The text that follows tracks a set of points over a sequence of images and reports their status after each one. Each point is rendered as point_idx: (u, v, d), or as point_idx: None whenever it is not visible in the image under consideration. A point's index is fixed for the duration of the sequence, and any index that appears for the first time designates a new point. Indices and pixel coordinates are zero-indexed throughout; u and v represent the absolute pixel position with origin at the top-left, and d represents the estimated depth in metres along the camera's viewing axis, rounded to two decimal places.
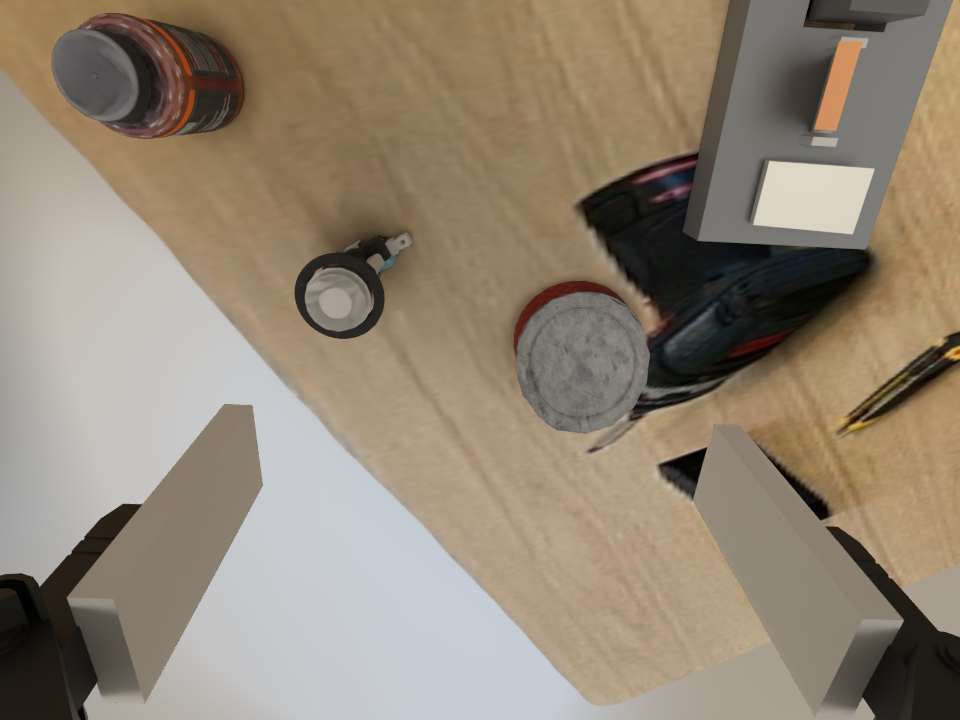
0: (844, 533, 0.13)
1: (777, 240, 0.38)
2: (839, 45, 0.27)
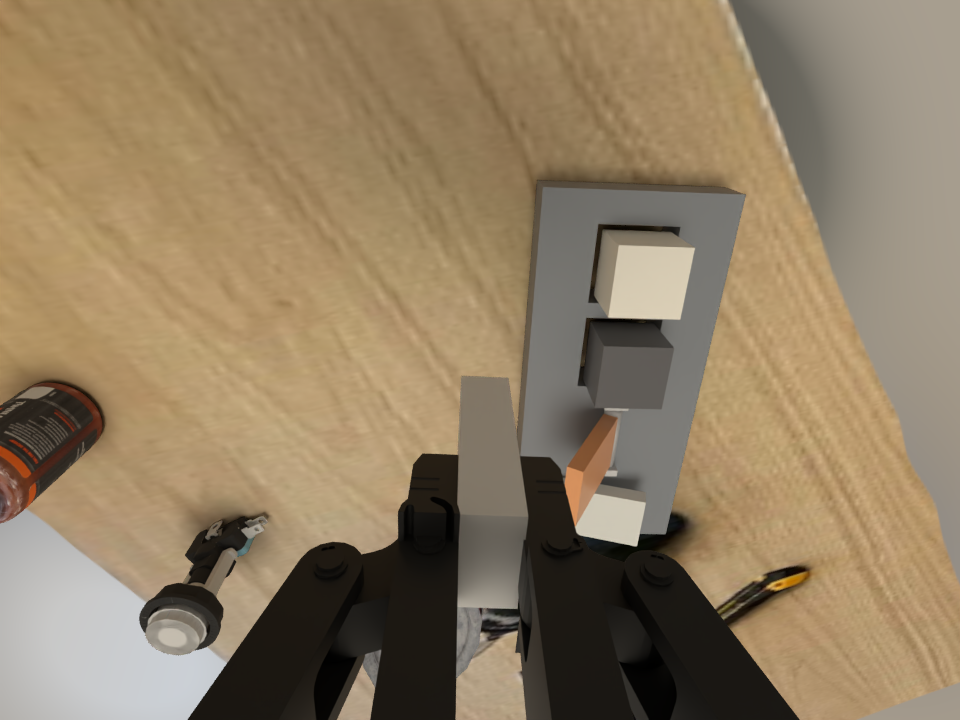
0: (552, 462, 0.15)
1: None
2: (567, 469, 0.32)
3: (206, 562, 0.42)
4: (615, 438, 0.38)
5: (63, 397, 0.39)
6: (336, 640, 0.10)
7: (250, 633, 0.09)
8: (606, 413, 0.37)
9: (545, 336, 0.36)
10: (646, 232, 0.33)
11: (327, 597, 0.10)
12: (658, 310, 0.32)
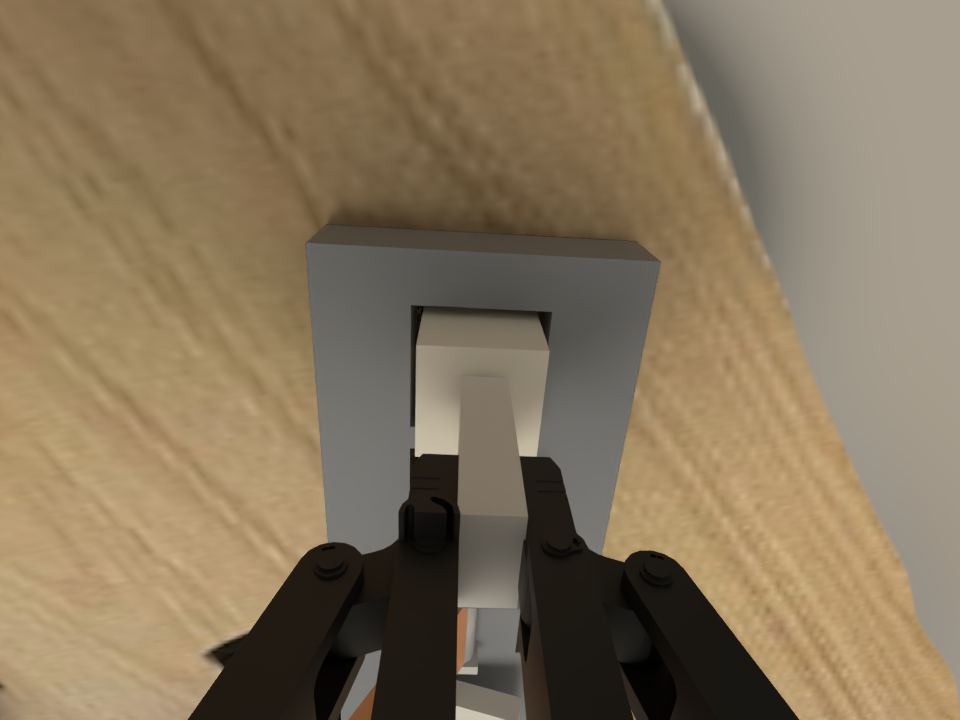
0: (552, 462, 0.15)
1: None
2: None
3: None
4: (469, 625, 0.24)
5: None
6: (336, 640, 0.10)
7: (250, 633, 0.09)
8: None
9: (346, 475, 0.22)
10: (493, 309, 0.21)
11: (327, 597, 0.10)
12: None
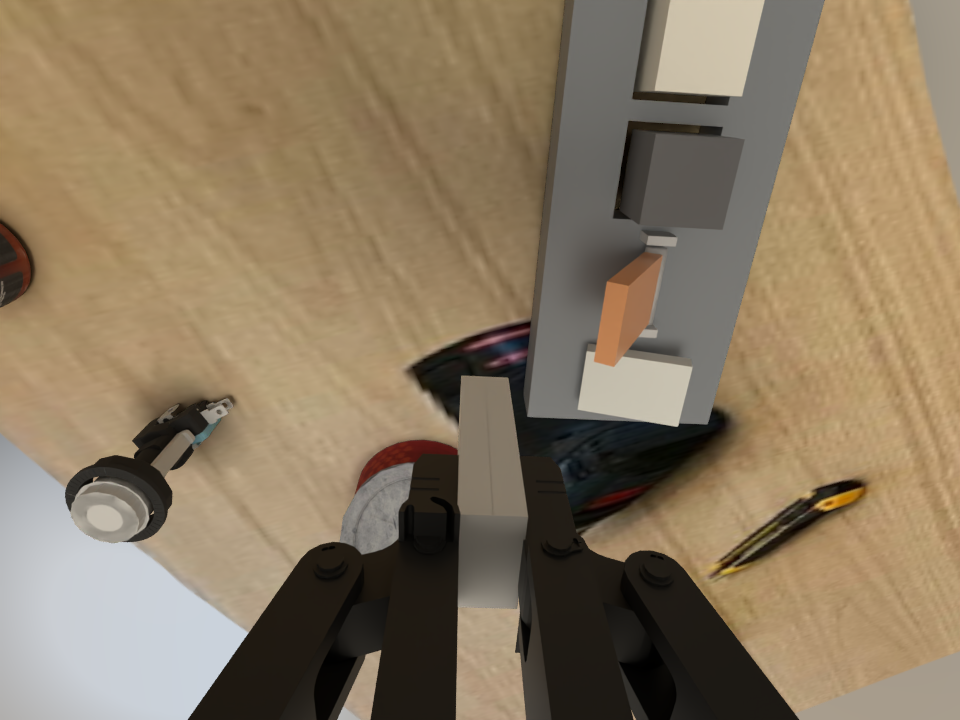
0: (552, 462, 0.15)
1: (612, 416, 0.36)
2: (607, 285, 0.25)
3: (155, 442, 0.35)
4: (657, 285, 0.31)
5: None
6: (336, 640, 0.10)
7: (250, 633, 0.09)
8: (648, 251, 0.30)
9: (576, 146, 0.29)
10: None
11: (327, 597, 0.10)
12: (715, 82, 0.26)
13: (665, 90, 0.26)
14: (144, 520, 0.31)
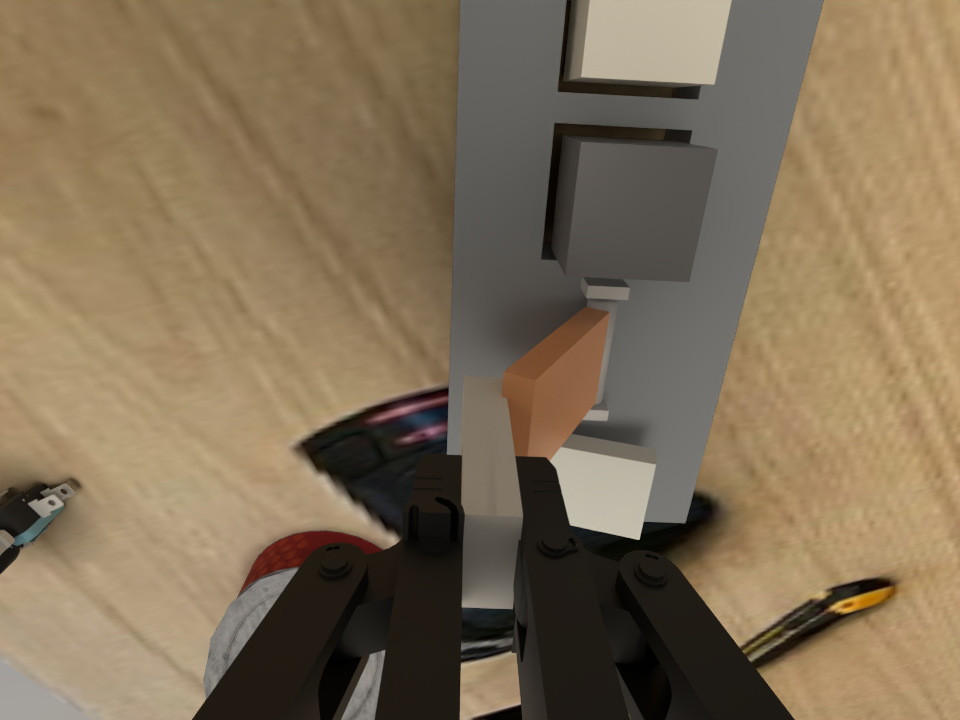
0: (547, 461, 0.15)
1: None
2: (505, 377, 0.16)
3: None
4: (605, 352, 0.22)
5: None
6: (340, 640, 0.10)
7: (255, 633, 0.09)
8: (590, 306, 0.22)
9: (481, 160, 0.20)
10: None
11: (332, 597, 0.10)
12: (673, 64, 0.17)
13: (597, 76, 0.17)
14: None
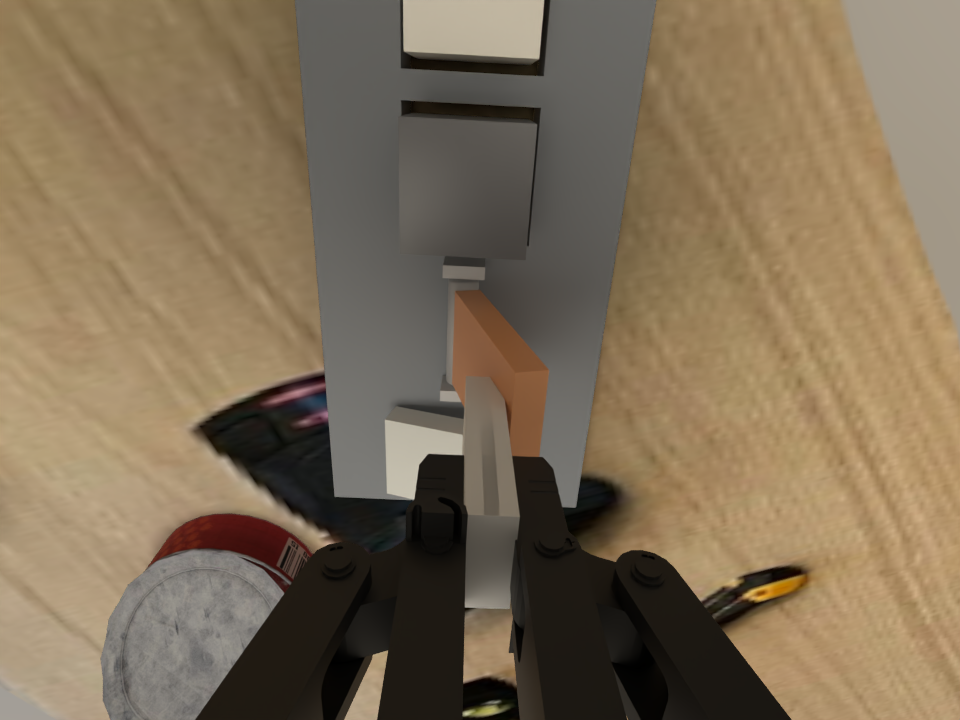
0: (544, 461, 0.15)
1: None
2: (517, 378, 0.15)
3: None
4: None
5: None
6: (343, 640, 0.10)
7: (258, 632, 0.09)
8: (458, 289, 0.21)
9: (332, 138, 0.20)
10: None
11: (335, 597, 0.10)
12: (495, 37, 0.17)
13: (420, 50, 0.17)
14: None
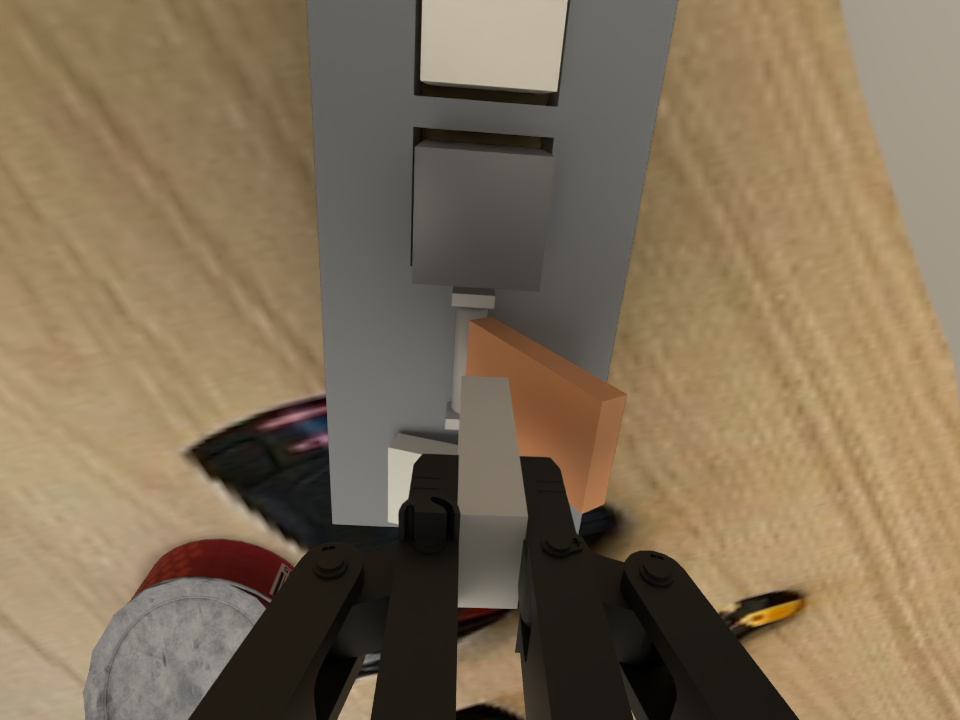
0: (551, 462, 0.15)
1: None
2: (602, 406, 0.16)
3: None
4: None
5: None
6: (336, 640, 0.10)
7: (250, 633, 0.09)
8: (471, 318, 0.21)
9: (341, 163, 0.20)
10: None
11: (327, 597, 0.10)
12: (513, 69, 0.17)
13: (437, 80, 0.17)
14: None
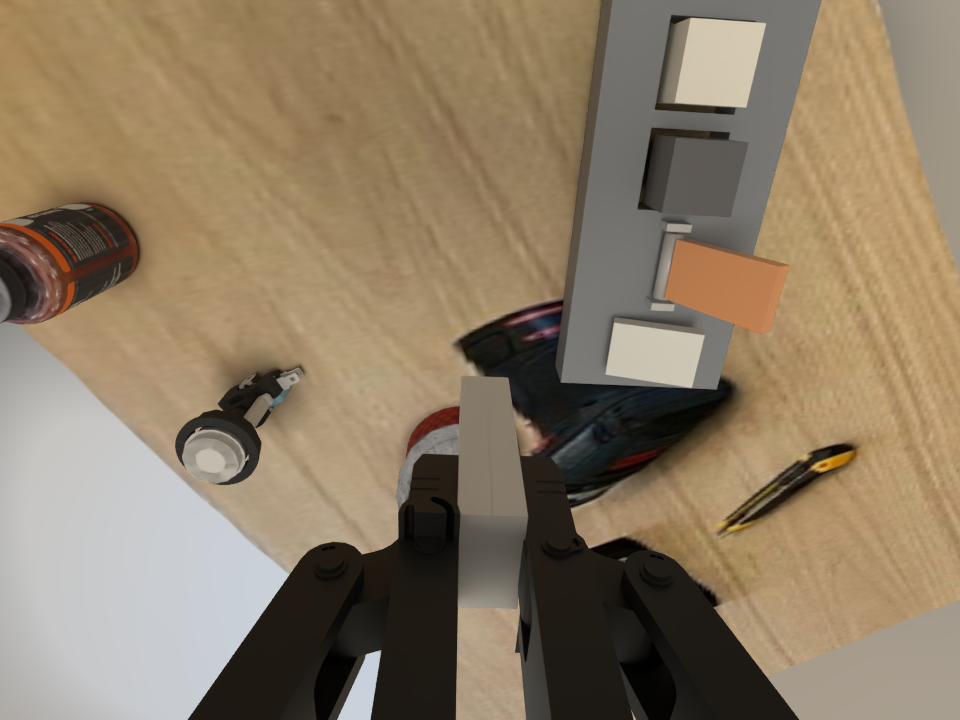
0: (552, 462, 0.15)
1: (634, 382, 0.42)
2: (779, 269, 0.31)
3: (242, 402, 0.40)
4: None
5: (100, 214, 0.37)
6: (336, 640, 0.10)
7: (251, 633, 0.09)
8: (677, 238, 0.36)
9: (607, 149, 0.35)
10: None
11: (328, 597, 0.10)
12: (724, 96, 0.32)
13: (683, 102, 0.32)
14: (241, 464, 0.37)
